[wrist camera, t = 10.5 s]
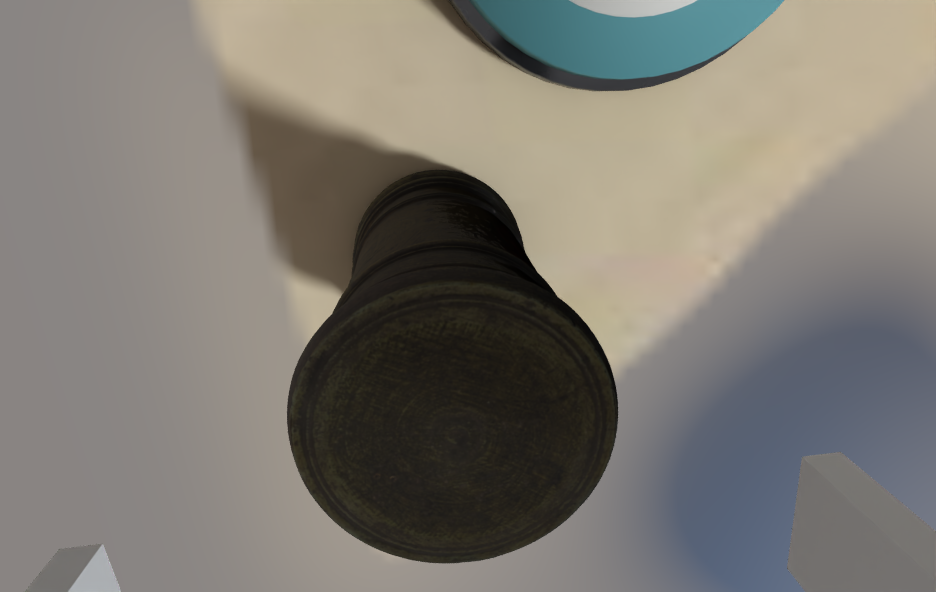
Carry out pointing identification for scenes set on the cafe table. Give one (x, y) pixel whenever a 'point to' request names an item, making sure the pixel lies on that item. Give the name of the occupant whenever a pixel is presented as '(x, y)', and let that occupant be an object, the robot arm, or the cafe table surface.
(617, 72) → the turntable
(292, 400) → the container
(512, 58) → the turntable base
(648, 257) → the cafe table surface
